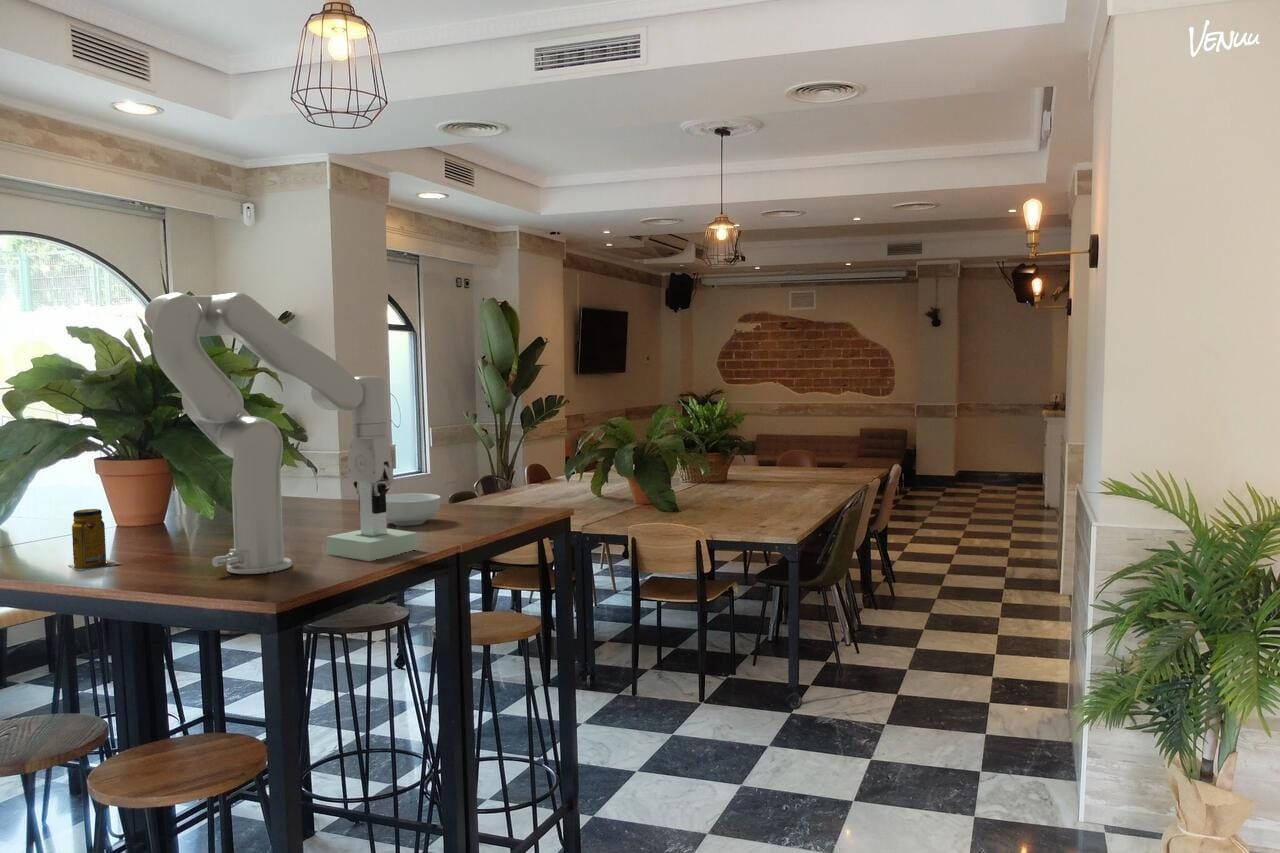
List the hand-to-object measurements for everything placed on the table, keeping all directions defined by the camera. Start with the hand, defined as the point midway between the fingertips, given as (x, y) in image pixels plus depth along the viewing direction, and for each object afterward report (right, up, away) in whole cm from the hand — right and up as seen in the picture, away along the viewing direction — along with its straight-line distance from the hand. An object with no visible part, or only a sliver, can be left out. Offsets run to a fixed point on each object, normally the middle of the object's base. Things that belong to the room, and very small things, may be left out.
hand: (372, 511), depth 216 cm
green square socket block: (0, -9, 0) cm, 9 cm away
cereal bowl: (-1, -7, +38) cm, 39 cm away
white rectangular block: (0, -5, 0) cm, 5 cm away
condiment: (-56, -11, -11) cm, 58 cm away
